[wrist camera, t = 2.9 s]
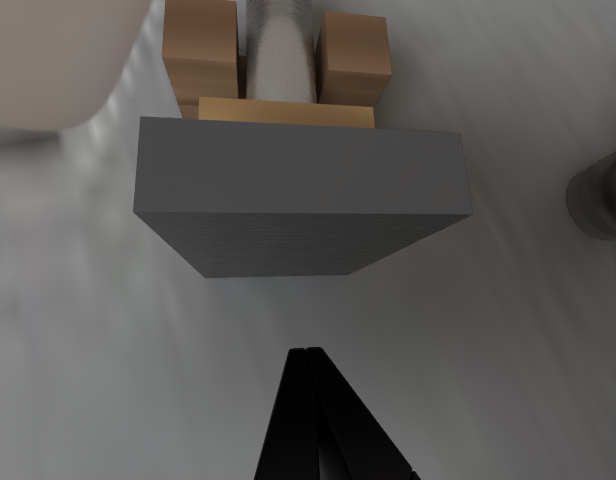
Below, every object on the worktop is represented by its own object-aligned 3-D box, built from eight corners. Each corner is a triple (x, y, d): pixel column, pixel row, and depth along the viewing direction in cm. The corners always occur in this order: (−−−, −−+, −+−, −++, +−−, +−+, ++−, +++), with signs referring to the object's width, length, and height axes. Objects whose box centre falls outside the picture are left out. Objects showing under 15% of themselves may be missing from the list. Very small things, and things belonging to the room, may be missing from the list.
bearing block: (357, 136, 19) (392, 74, 15) (186, 128, 18) (161, 56, 13) (353, 90, 20) (385, 17, 15) (188, 79, 18) (165, -7, 14)
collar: (336, 212, 17) (378, 158, 12) (216, 211, 16) (197, 151, 11) (334, 176, 18) (372, 107, 12) (217, 173, 17) (199, 96, 11)
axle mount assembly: (348, 274, 17) (473, 214, 7) (205, 277, 16) (133, 211, 6) (332, 49, 20) (405, -200, 10) (211, 38, 19) (169, -252, 9)
